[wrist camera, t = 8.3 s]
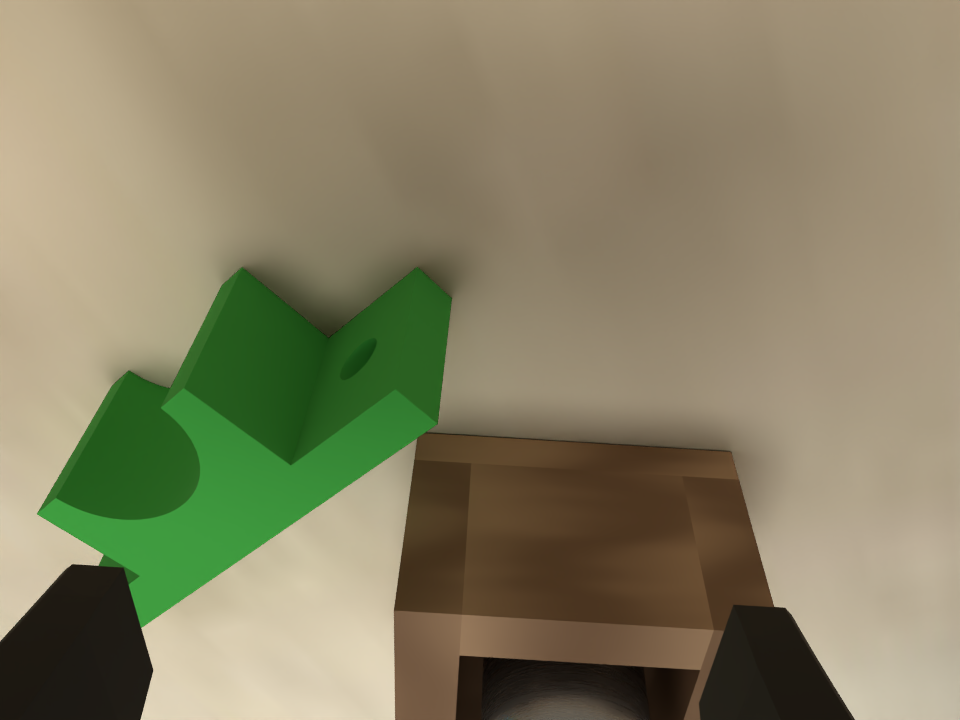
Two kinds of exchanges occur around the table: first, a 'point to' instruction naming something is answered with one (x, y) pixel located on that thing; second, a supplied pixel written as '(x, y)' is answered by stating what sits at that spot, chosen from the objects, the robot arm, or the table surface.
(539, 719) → the peg
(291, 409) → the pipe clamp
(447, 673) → the socket
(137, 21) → the table surface
